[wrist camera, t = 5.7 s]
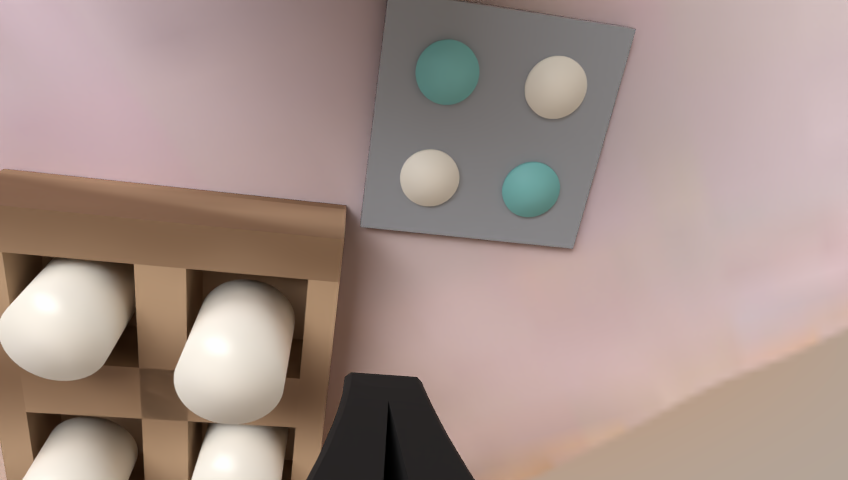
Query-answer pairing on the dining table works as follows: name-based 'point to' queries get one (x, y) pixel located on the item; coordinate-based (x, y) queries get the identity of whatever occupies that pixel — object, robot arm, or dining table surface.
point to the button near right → (237, 353)
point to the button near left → (69, 318)
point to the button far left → (85, 452)
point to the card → (489, 120)
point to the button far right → (241, 452)
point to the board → (167, 307)
